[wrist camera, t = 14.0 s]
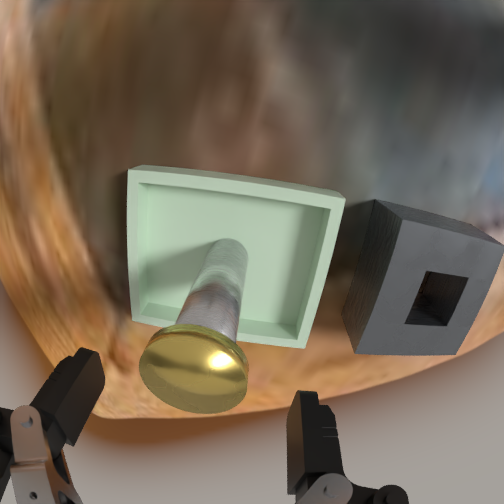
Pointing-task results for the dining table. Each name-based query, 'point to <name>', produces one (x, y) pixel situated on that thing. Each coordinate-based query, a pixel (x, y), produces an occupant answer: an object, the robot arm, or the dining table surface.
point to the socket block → (418, 282)
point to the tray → (240, 229)
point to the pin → (203, 339)
